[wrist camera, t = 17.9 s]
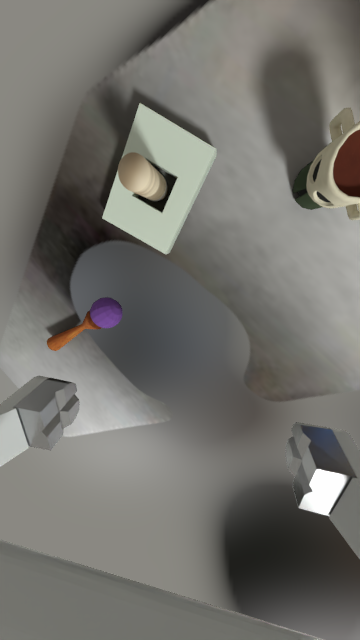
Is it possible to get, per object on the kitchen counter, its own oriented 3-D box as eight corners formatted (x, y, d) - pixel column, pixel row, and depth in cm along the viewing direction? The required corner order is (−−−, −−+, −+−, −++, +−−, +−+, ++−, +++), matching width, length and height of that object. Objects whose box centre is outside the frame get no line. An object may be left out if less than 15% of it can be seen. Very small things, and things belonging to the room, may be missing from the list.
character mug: (279, 160, 32) (314, 119, 20) (332, 131, 30) (406, 67, 18) (299, 233, 35) (340, 234, 23) (349, 211, 33) (422, 200, 21)
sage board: (216, 155, 33) (216, 148, 30) (169, 252, 40) (165, 254, 37) (146, 113, 33) (139, 102, 30) (110, 218, 39) (102, 218, 36)
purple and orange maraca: (35, 336, 47) (99, 294, 39) (58, 328, 52) (118, 290, 45) (49, 360, 47) (115, 324, 40) (70, 350, 53) (132, 316, 45)
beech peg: (175, 183, 35) (155, 163, 24) (164, 207, 37) (142, 198, 26) (153, 171, 35) (124, 144, 24) (144, 195, 37) (112, 181, 26)
